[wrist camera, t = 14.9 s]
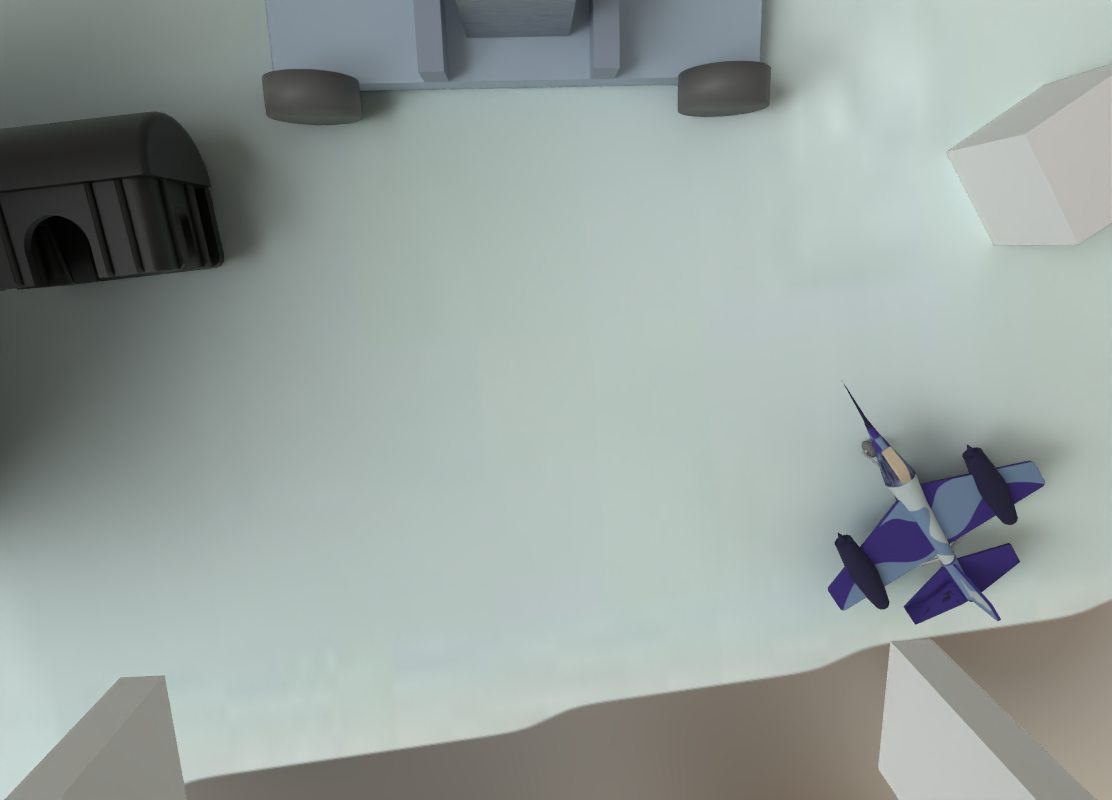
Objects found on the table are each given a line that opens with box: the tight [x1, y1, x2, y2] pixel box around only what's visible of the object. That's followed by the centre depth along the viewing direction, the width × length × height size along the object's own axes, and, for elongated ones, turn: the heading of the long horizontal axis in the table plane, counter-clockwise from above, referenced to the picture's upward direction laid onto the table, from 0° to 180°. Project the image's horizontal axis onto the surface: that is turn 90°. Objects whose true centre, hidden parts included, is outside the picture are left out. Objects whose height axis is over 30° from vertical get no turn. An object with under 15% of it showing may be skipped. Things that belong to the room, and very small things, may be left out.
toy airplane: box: [828, 381, 1045, 624], centre depth 39 cm, size 13×14×4 cm
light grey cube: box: [946, 64, 1112, 245], centre depth 33 cm, size 6×6×6 cm
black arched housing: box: [0, 112, 224, 291], centre depth 32 cm, size 10×7×7 cm
